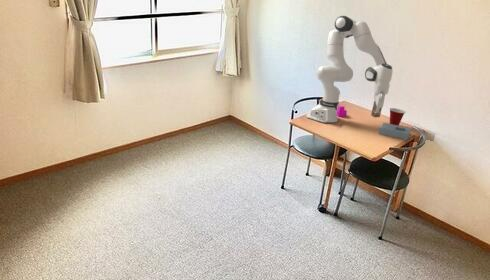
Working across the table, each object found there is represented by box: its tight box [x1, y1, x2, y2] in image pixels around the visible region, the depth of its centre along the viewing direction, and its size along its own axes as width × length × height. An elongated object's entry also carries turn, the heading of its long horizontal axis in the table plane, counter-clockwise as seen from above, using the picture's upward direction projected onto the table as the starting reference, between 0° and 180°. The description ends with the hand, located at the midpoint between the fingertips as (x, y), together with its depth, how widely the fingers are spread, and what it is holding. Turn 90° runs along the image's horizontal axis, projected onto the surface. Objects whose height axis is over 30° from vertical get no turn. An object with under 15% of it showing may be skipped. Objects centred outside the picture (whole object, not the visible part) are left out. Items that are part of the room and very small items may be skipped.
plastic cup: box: [389, 107, 406, 126], centre depth 274 cm, size 11×11×12 cm
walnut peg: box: [370, 100, 383, 118], centre depth 254 cm, size 4×4×10 cm
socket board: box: [378, 122, 412, 141], centre depth 260 cm, size 18×14×4 cm
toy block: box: [337, 105, 348, 118], centre depth 294 cm, size 15×6×8 cm, turn 16°
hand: (376, 110), depth 255 cm, fingers closed on walnut peg, 5 cm apart
